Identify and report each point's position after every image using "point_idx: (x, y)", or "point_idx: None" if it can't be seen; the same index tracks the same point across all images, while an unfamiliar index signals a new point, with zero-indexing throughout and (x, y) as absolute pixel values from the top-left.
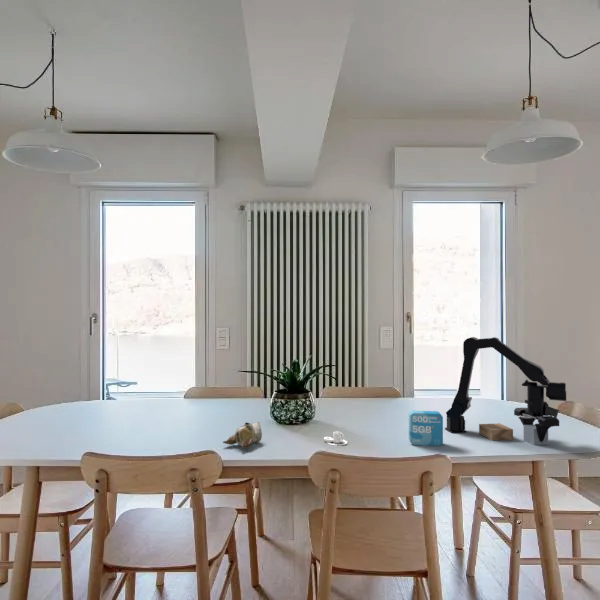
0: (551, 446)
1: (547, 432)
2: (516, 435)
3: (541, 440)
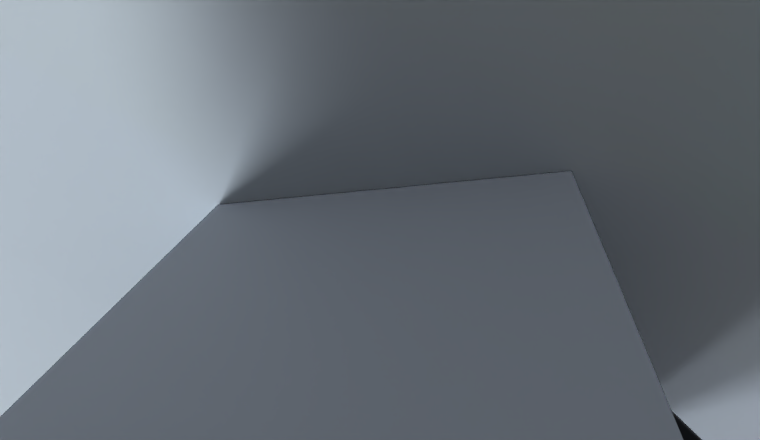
0: (743, 188)
1: (657, 409)
2: None
3: None
